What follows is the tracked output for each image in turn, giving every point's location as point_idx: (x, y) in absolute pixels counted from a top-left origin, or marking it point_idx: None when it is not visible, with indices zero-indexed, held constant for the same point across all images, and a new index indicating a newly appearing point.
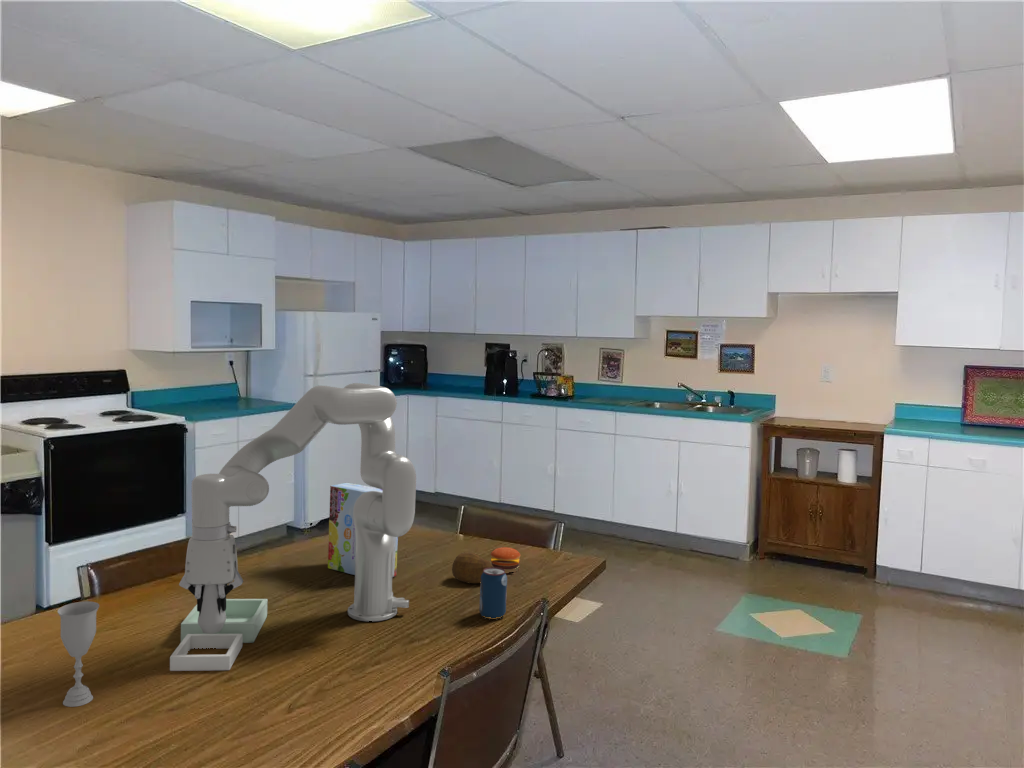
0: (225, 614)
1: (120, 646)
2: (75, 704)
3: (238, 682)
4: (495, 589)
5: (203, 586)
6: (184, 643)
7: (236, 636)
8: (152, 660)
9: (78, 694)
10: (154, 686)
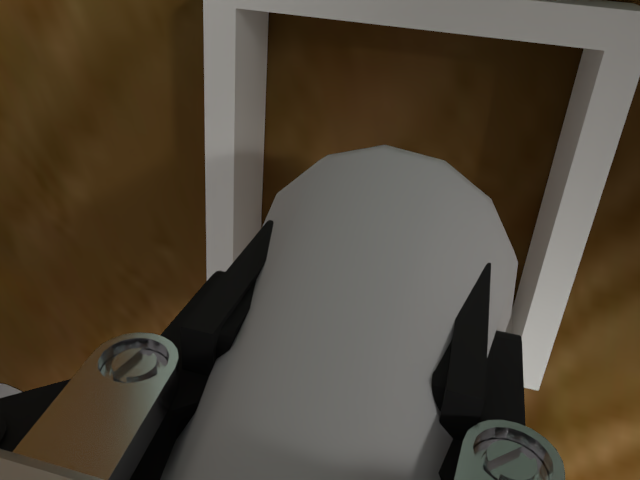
0: (510, 292)
1: None
2: None
3: (577, 463)
4: None
5: (124, 469)
6: (231, 149)
7: (597, 74)
8: (114, 139)
9: None
10: None
